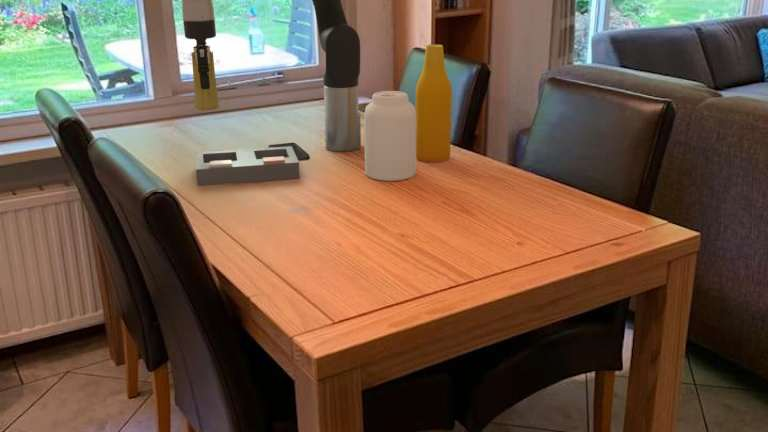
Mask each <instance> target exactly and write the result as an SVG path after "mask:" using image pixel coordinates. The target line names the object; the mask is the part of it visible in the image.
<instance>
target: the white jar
mask: <svg viewBox="0 0 768 432" xmlns="http://www.w3.org/2000/svg"><path fill="white" fill-rule="evenodd" d="M363 120H364V121H363V122H364V123H363V125H364V126H363V128H364V131H363V132H364V173H365V175H366V176H367V177H368V178H371V179H373V180H378V181H385V182H390V181H391V182H392V181H393V182H394V181H395V182H396V181H403V180H406V179H407V180H408V179H411V178H412V177H414V176H415V175H416V171H417V164H416V163H417V158H416V105H414V104H412V102H411V101H409V95H408V94H407V93H406V92H404V91H400V90H399V91H398V90H382V91H378V92H375V93H373V94H372V96H371V101H370V102H369V103H368V104H367V105H366V106H365V110H364V114H363Z"/></svg>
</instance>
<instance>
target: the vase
mask: <svg viewBox="0 0 768 432" xmlns="http://www.w3.org/2000/svg"><path fill="white" fill-rule="evenodd" d="M190 53H191V61H192V73H193V74H192V76H193V91H194V104H195V106H194V108H195V110H197V111H212V110H213V111H214V110H217V109H220V103H219V95H218V87H217V81H216V72H215V62H214V52H213V50H212V49H210V53H209V56H210V64H209V65H208V68H209V83H210V88H209V89H201V85H200V74H199V73H198V65H196V59H195V53H194V50H191V52H190ZM200 68H207V67H206V65H204V64H203V65H200Z"/></svg>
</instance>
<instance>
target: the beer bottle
mask: <svg viewBox="0 0 768 432" xmlns="http://www.w3.org/2000/svg"><path fill="white" fill-rule="evenodd" d="M452 91H453V90H452V85H451V81H450V79H449V76H448V74H447V72H446V66H445V55H444V46H443V44H426V46H425V51H424V62H423V67H422V72H421V74H420V76H419V78H418V81H417V83H416V88H415V110H416V160H418V161H420V162H423V163H431V164H433V163H444V162H447V161H448V160H449V159H450V156H451V134H452V133H451V130H452V129H451V128H452V127H451V126H452V97H453V96H452V95H453V92H452Z"/></svg>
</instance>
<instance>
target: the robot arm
mask: <svg viewBox="0 0 768 432" xmlns="http://www.w3.org/2000/svg"><path fill="white" fill-rule="evenodd" d="M311 1H312V5H313V8H314V12H315V18H316V24H317V31H318V37H319V38H318V39H319V44H320V46H321V47H320V48H322V50H323V52H324V53H325V72H324V74H323V100H324V101H323V103H324V104H323V106H324V132H325V133H324V134H325V136H324V137H325V139H324V140H325V142H324V143H325V148H326V149H327V150H328V151H333V152H351V151H354V150H358V149H359V150H361V149H362V146H361V145H362V135H361V131H362V126H361V125H362V124H361V122H362V121H361V113H359V112H360V111H359V77H360V74H361V41H360V36H359V33H358V32H357V31H356V29H355V28H353V27H352V26H350V25H349V24H348V20H347V17H346V15H345V11H344V9H343V4H342V0H311ZM181 3H182V4H181V5H182V6H181V9H182V10H181V11H182V21H183V22H182V23H183V31H184V32H183V33H184V37H185V38H186V39H188V40H195V41H196V43H195V44H193V47H192V48H193V51H194V53H195V59H196V65H198V73H199V74H200V85H201V89H209V88H210V83H209V68H208V65H209V64H210V56H209V53H210V50H211V46H210V44H209V43H207V41H206V40H207V39H214V38H215V37H216V35H217V32H216V21H215V20H216V19H215V9H214V3H213V0H181ZM203 64H204V65H206V67H207V68H200V65H203Z"/></svg>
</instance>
